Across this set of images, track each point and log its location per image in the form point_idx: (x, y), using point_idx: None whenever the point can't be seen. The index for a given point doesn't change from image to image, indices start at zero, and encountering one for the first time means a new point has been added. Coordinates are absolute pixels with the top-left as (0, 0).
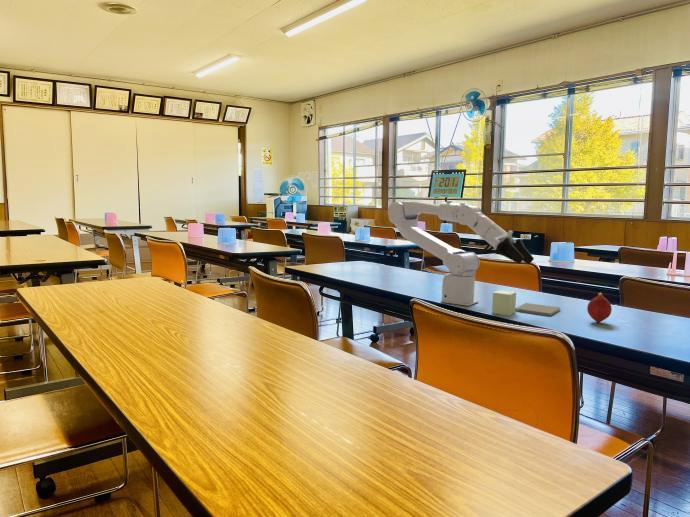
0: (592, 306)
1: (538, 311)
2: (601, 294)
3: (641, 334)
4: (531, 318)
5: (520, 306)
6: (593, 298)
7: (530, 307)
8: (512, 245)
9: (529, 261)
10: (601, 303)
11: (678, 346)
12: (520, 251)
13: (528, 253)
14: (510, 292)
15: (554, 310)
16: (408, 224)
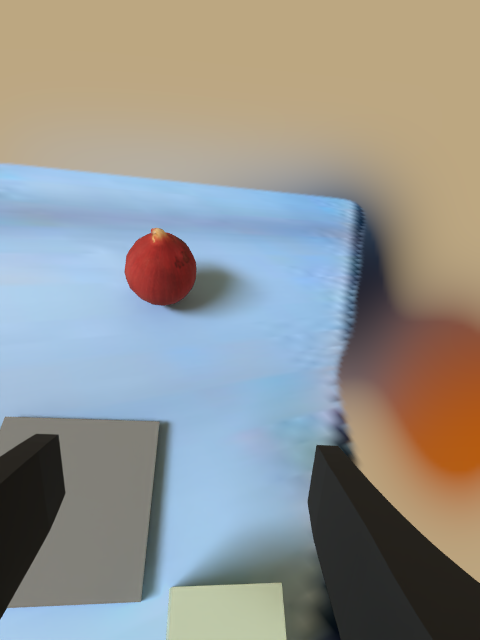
0: (190, 276)
1: (148, 473)
2: (161, 230)
3: (227, 231)
4: (241, 478)
5: (69, 596)
6: (164, 259)
7: (71, 536)
8: (460, 593)
9: (56, 483)
10: (188, 249)
11: (274, 196)
12: None
13: (9, 483)
14: (205, 618)
15: (87, 423)
16: None
